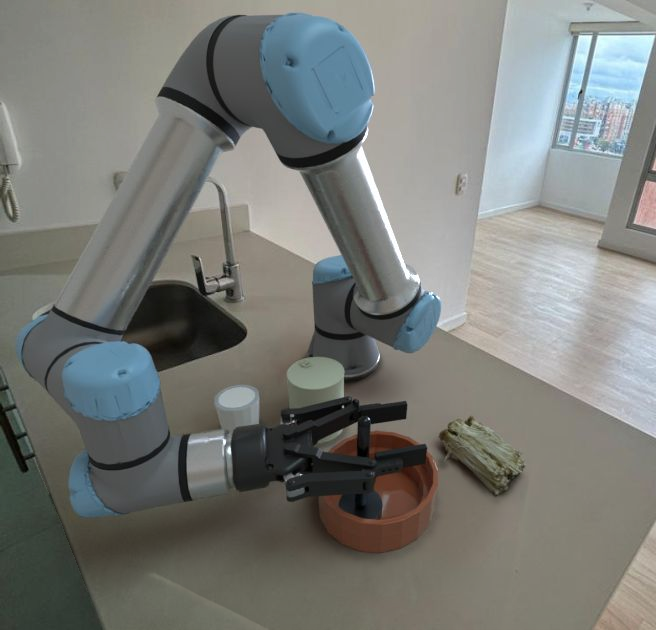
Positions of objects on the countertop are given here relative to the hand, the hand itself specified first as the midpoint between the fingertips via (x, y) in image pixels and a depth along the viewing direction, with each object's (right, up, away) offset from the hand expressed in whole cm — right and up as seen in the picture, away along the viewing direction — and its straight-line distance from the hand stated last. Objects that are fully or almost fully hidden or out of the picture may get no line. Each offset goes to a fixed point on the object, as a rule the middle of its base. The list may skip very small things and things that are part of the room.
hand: (415, 430), depth 60 cm
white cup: (-29, -4, +15) cm, 33 cm away
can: (-17, -4, +17) cm, 24 cm away
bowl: (-6, -11, +4) cm, 13 cm away
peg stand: (-8, -12, +2) cm, 14 cm away
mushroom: (+11, -9, +13) cm, 19 cm away
